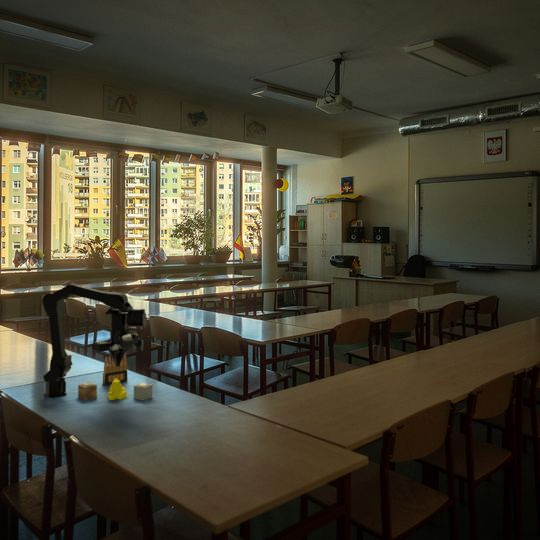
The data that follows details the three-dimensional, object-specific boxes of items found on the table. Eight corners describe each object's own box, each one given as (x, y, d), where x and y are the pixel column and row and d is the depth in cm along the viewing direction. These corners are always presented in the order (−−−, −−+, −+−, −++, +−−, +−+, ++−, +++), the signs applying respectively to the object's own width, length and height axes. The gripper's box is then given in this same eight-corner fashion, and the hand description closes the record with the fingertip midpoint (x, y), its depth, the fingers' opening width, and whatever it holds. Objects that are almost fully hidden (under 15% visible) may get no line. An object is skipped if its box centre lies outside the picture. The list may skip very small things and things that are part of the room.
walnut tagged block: (84, 400, 198) (84, 386, 198) (78, 397, 202) (78, 383, 201) (96, 397, 202) (97, 384, 202) (90, 394, 205) (90, 381, 205)
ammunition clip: (104, 385, 218) (105, 357, 218) (102, 384, 220) (102, 356, 219) (127, 381, 226) (128, 353, 225) (125, 380, 227) (125, 353, 227)
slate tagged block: (144, 400, 200) (144, 386, 200) (133, 398, 202) (133, 385, 202) (152, 397, 205) (152, 383, 205) (141, 395, 207) (141, 382, 207)
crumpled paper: (129, 395, 206) (130, 376, 206) (117, 401, 199) (117, 380, 198) (117, 393, 208) (117, 374, 208) (104, 399, 201) (104, 379, 200)
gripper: (107, 331, 189) (106, 374, 190) (151, 326, 203) (150, 366, 204) (91, 327, 197) (91, 368, 198) (134, 322, 211) (134, 361, 212)
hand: (117, 366), depth 203 cm, fingers closed
